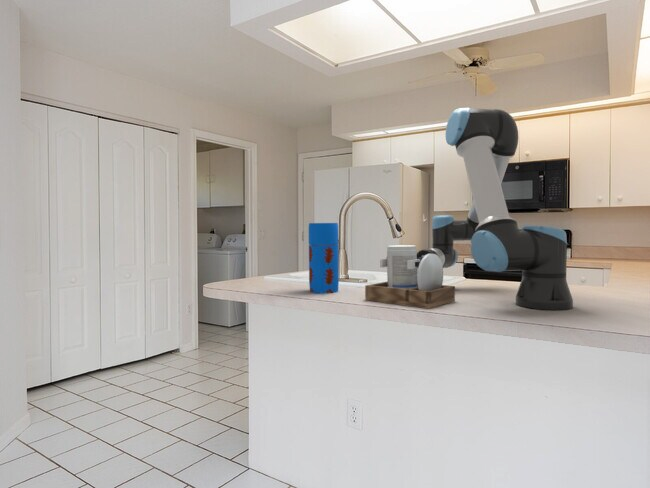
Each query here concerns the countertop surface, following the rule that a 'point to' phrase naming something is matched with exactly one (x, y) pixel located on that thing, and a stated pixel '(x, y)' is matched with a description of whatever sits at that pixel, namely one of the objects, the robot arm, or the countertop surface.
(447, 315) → the countertop surface
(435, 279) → the plate
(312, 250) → the thermos
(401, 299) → the rack
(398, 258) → the supplement tub
